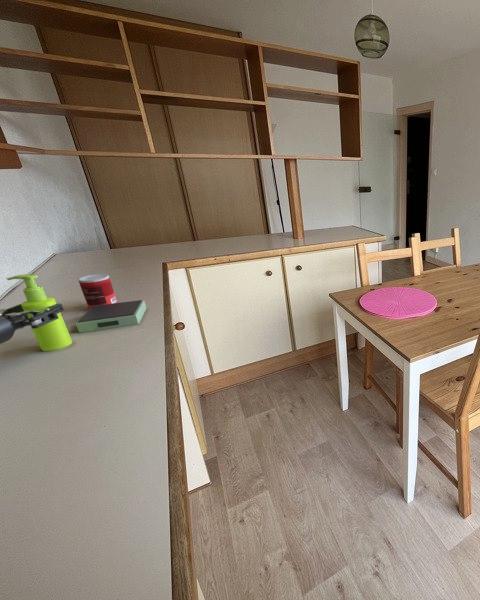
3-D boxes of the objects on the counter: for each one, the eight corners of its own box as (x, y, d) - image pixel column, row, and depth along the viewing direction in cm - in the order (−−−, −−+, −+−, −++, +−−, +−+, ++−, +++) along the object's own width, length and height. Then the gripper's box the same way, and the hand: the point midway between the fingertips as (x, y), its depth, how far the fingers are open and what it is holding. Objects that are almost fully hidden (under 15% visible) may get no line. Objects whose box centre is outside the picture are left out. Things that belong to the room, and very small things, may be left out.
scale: (78, 332, 92) (74, 322, 91) (93, 315, 103) (90, 305, 102) (138, 324, 98) (135, 314, 97) (146, 308, 110) (143, 299, 109)
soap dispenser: (50, 340, 87) (21, 272, 80) (78, 340, 88) (51, 272, 81) (30, 351, 82) (-4, 279, 75) (59, 350, 83) (28, 279, 75)
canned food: (114, 301, 115) (104, 272, 111) (121, 306, 110) (112, 277, 106) (86, 307, 109) (75, 277, 105) (92, 313, 104) (81, 282, 100)
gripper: (2, 319, 67) (68, 293, 82) (-76, 321, 65) (6, 294, 80) (17, 350, 69) (78, 319, 84) (-58, 352, 68) (18, 320, 83)
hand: (43, 307), depth 82 cm, fingers open, 8 cm apart
